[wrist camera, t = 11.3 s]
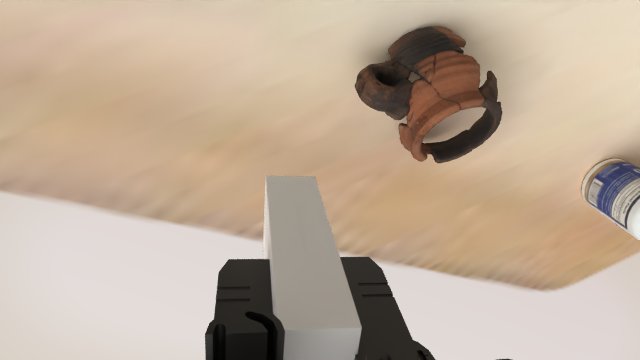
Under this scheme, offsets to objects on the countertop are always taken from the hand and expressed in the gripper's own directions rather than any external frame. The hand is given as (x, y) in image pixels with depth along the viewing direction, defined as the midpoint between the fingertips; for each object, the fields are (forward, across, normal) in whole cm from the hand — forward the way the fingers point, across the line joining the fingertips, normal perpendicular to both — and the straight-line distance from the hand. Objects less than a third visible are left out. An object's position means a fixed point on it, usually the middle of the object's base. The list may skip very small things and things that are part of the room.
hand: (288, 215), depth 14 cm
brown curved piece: (+25, +12, -1) cm, 28 cm away
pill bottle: (+25, +34, -10) cm, 43 cm away
